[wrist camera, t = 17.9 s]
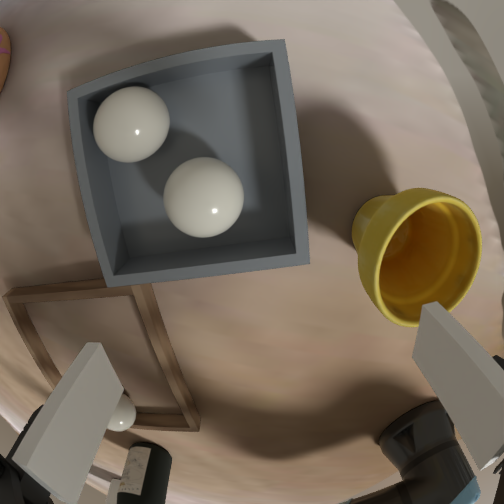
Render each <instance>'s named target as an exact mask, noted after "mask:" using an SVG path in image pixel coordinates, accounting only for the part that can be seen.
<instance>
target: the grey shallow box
mask: <svg viewBox="0 0 504 504" xmlns="http://www.w3.org/2000/svg"><path fill="white" fill-rule="evenodd" d="M132 86H138V87H144V88H148V89H150V90H152V91H154V92H155V93H157V94H158V95H159V96H160V97H161V98H162V99H163V101H164V102H165V104H166V106H167V108H168V111H169V116H170V126H169V131H168V134H167V137H166V139H165V141H164V142H163V144H162V145H161V147H160V148H159V149H158V150H157V151H156V152H155V153H154V154H152V155H151V156H149V157H148V158H146V159H143V160H141V161H137V162H132V163H125V162H119V161H115V160H113V159H111V158H109V157H108V156H106V155H105V154H104V153H103V152H102V151H101V150H100V148H99V147H98V145H97V143H96V141H95V138H94V133H93V123H94V118H95V115H96V112H97V110H98V108H99V107H100V105H101V104H102V102H103V101H104V100H105V99H106V98H107V97H108V96H109V95H111V94H112V93H114V92H115V91H117V90H120V89H122V88H126V87H132ZM67 100H68V112H69V122H70V131H71V138H72V146H73V152H74V159H75V165H76V170H77V176H78V181H79V186H80V191H81V196H82V200H83V205H84V209H85V213H86V217H87V221H88V225H89V229H90V233H91V236H92V240H93V243H94V247H95V250H96V254H97V257H98V260H99V264H100V267H101V270H102V273H103V276H104V279H105V282H106V285H107V287H118V286H127V285H137V284H147V283H156V282H165V281H174V280H183V279H192V278H201V277H210V276H218V275H226V274H235V273H243V272H251V271H259V270H267V269H275V268H283V267H290V266H298V265H305V264H310V255H309V239H308V225H307V212H306V199H305V188H304V178H303V168H302V158H301V149H300V140H299V132H298V124H297V116H296V109H295V101H294V94H293V87H292V81H291V74H290V68H289V62H288V56H287V50H286V44H285V39H280V40H265V41H253V42H244V43H235V44H228V45H221V46H215V47H209V48H203V49H198V50H193V51H188V52H184V53H179V54H175V55H171V56H167V57H163V58H159V59H155V60H151V61H148V62H144V63H141V64H138V65H135V66H131V67H128V68H125V69H122V70H119V71H116V72H114V73H111V74H108V75H105V76H103V77H100V78H97V79H95V80H92V81H90V82H87V83H85V84H83V85H80V86H78V87H76V88H74V89H71V90H69V91H67ZM198 157H210V158H215V159H218V160H221V161H223V162H225V163H226V164H228V165H229V166H230V167H231V168H232V169H233V170H234V171H235V172H236V173H237V175H238V176H239V178H240V180H241V183H242V186H243V190H244V203H243V208H242V211H241V213H240V215H239V217H238V219H237V220H236V222H235V223H234V224H233V225H232V226H231V227H230V228H229V229H228V230H226V231H224V232H223V233H221V234H219V235H216V236H213V237H206V238H201V237H194V236H190V235H187V234H185V233H183V232H182V231H180V230H179V229H178V228H176V227H175V226H174V225H173V223H172V222H171V221H170V219H169V218H168V216H167V214H166V211H165V208H164V202H163V194H164V188H165V185H166V182H167V180H168V178H169V176H170V175H171V173H172V172H173V171H174V170H175V169H176V168H177V167H178V166H179V165H181V164H182V163H184V162H186V161H188V160H190V159H193V158H198Z"/></svg>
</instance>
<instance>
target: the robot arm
mask: <svg viewBox="0 0 504 504" xmlns="http://www.w3.org/2000/svg"><path fill="white" fill-rule="evenodd" d="M412 358H413V359H414V361H415V362H416V364H417V365H418V367H419V368H420V370H421V372H422V373H423V375H424V376H425V378H426V379H427V381H428V382H429V384H430V386H431V387H432V389H433V390H434V392H435V393H436V395H437V397H438V398H439V400H440V401H433V402H429V403H426V404H424V405H421V406H419V407H417V408H415V409H413V410H411V411H409V412H408V413H406V414H405V415H403V416H401V417H400V418H399V419H397V420H396V421H395V422H393V423H392V424H391V425H390V426H389V427H388V428H387V429H386V430H385V431H384V432H383V433H382V435H381V436H380V439H379V445H380V447H381V450H382V452H383V454H384V455H385V456H386V457H387V458H388V459H389V460H390V461H391V462H392V464H393V465H394V466H395V467H396V468H397V469H398V470H399V472H400V475H401V477H402V480H403V481H401V482H399V483H396V484H394V485H391V486H389V487H386V488H384V489H381V490H378V491H376V492H373V493H370V494H368V495H364V496H362V497H358V498H355V499H350V500H348V501H346V502H343V503H340V504H474V503H475V502H476V501H477V500H478V498H479V497H480V493H481V492H480V488H479V485H478V483H477V480H476V476H475V475H474V473H473V471H472V469H471V467H470V465H469V463H468V461H467V459H466V457H465V455H464V453H463V451H462V449H461V447H460V445H459V443H458V441H457V439H456V437H455V429H454V425H455V427H456V428H457V430H458V432H459V434H460V435H461V437H462V439H463V441H464V443H465V444H466V446H467V448H468V450H469V452H470V453H471V455H472V457H473V459H474V461H475V463H476V465H477V467H478V469H479V471H481V470H483V469H484V468H486V467H487V466H489V465H490V464H492V463H494V462H495V461H496V460H497V459H498V458H499V457H500V456H501V455H502V453H503V452H504V359H503V358H501V357H499V356H497V355H495V356H493V357H491V356H490V355H489V353H488V352H487V351H486V350H485V349H484V348H483V347H482V346H481V345H480V344H479V343H478V342H477V341H476V340H475V338H474V337H473V336H472V335H471V334H470V333H469V332H468V331H467V330H466V329H465V328H464V327H463V326H462V325H461V324H460V323H459V322H458V321H457V320H456V319H455V318H454V317H453V316H452V315H451V314H450V313H449V312H448V311H447V310H446V309H445V308H444V307H443V306H441V305H440V304H439V303H438V302H437V301H436V302H432V303H428V304H424V305H422V310H421V316H420V322H419V327H418V332H417V337H416V342H415V347H414V351H413V355H412ZM123 391H124V388H123V386H122V384H121V382H120V381H119V379H118V377H117V375H116V373H115V371H114V369H113V367H112V365H111V363H110V361H109V359H108V357H107V355H106V353H105V350H104V348H103V346H102V344H101V342H87V343H86V345H85V346H84V347H83V349H82V350H81V351H80V353H79V354H78V356H77V357H76V358H75V360H74V361H73V363H72V364H71V365H70V367H69V368H68V370H67V371H66V373H65V374H64V375H63V377H62V378H61V380H60V381H59V383H58V384H57V386H56V387H55V389H54V390H53V392H52V393H51V395H50V396H49V398H48V399H47V401H46V402H45V404H44V405H41V406H40V407H39V408H38V409H37V410H36V411H35V412H34V413H33V414H32V416H31V417H30V419H29V420H28V424H26V425H25V427H24V428H23V429H24V431H22V432H21V433H20V435H19V437H18V439H17V440H16V442H15V444H14V445H13V447H12V449H11V451H10V452H9V454H8V456H7V457H6V458H4V457H3V456H2V455H1V454H0V504H54V503H53V501H52V499H51V498H50V497H49V496H50V494H52V495H54V496H55V497H56V498H58V499H59V500H60V501H63V502H65V503H67V504H77V502H78V499H79V497H80V494H81V491H82V489H83V486H84V483H85V481H86V478H87V475H88V473H89V470H90V468H91V465H92V463H93V460H94V458H95V455H96V453H97V450H98V448H99V445H100V443H101V441H102V438H103V436H104V434H105V431H106V429H107V426H108V424H109V422H110V420H111V417H112V415H113V413H114V410H115V408H116V406H117V404H118V402H119V399H120V397H121V395H122V393H123ZM501 467H502V470H501V471H500V472H499V474H501V475H500V480H499V484H498V488H497V491H496V495H495V499H494V502H493V504H504V459H503V460H502V462H500V464H499V465H498V466H497V467H496V468H495V470H494V472H493V473H494V474H495V473H497V471H498V470H499V469H500V468H501Z"/></svg>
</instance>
